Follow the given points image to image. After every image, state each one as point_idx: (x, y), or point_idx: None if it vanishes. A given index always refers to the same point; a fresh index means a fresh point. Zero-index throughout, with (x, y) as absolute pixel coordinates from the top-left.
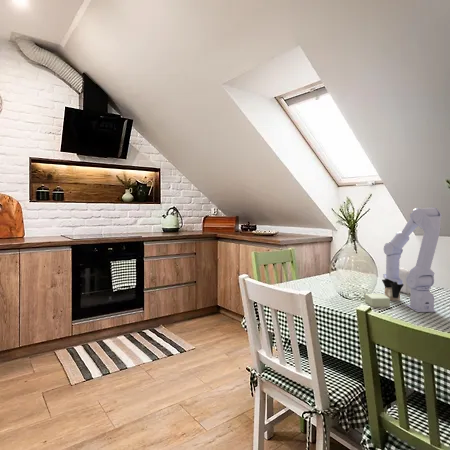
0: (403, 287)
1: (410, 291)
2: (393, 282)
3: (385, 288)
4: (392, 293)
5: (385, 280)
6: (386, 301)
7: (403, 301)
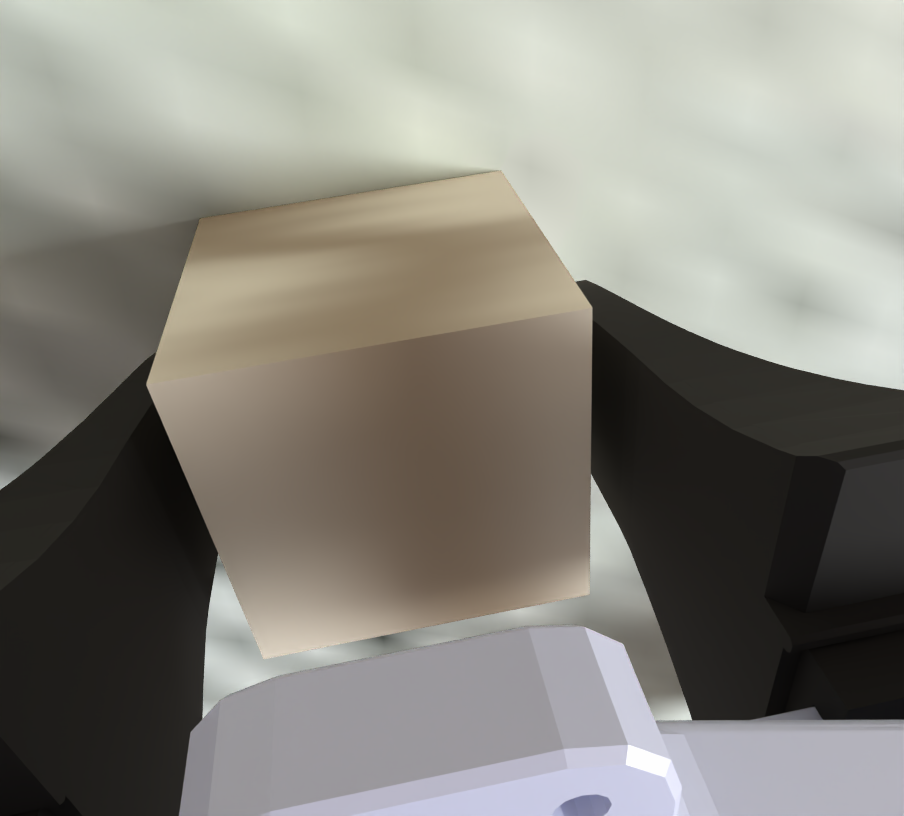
0: None
1: None
2: (692, 710)
3: (520, 309)
4: None
5: (814, 555)
6: None
7: None
